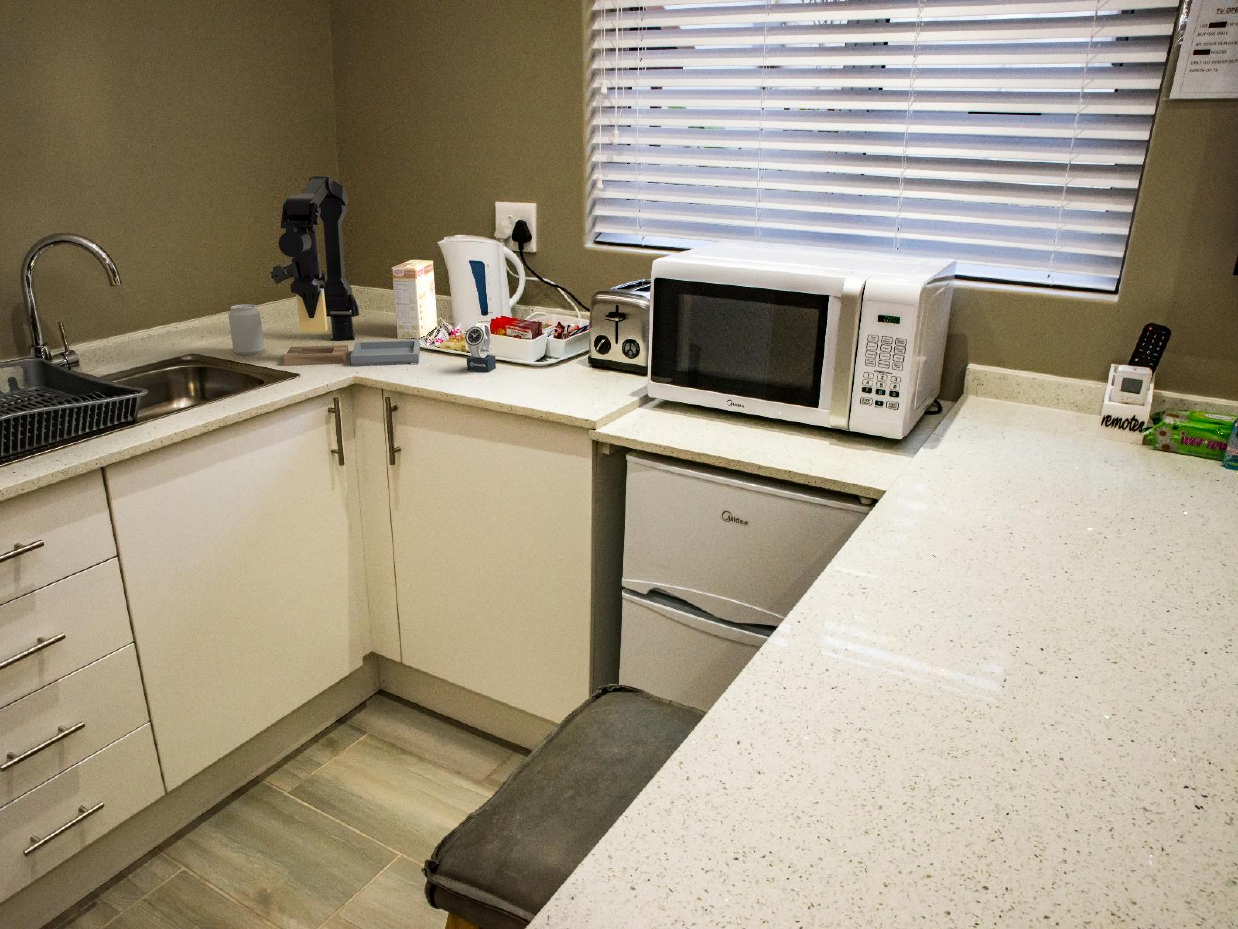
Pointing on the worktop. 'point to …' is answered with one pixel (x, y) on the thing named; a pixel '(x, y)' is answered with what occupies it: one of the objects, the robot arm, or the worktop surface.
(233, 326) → the can
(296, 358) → the brown wooden frame
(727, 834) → the worktop surface
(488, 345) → the watch
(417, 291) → the coffeecake box
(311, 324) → the tan rectangular block
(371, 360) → the parts tray
